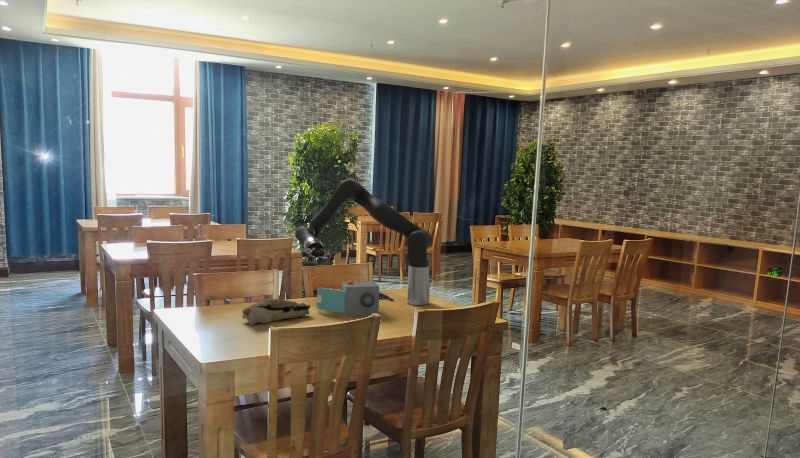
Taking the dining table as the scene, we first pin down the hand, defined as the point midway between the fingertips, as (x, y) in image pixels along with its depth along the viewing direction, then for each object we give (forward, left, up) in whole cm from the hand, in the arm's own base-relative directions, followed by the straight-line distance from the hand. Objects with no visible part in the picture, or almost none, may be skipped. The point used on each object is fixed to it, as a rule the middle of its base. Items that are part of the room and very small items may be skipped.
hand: (321, 259), depth 236 cm
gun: (-24, -14, -22) cm, 35 cm away
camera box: (-15, +12, -21) cm, 28 cm away
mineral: (+19, +18, -21) cm, 34 cm away
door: (-2, +14, -19) cm, 24 cm away
